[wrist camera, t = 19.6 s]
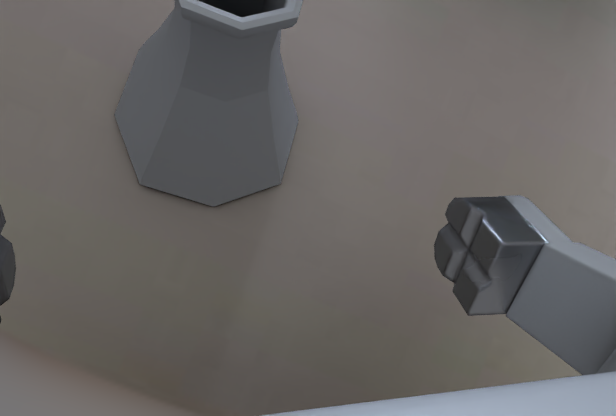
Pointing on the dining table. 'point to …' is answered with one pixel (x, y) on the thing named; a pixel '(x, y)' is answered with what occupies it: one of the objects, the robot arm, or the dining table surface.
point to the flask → (211, 101)
